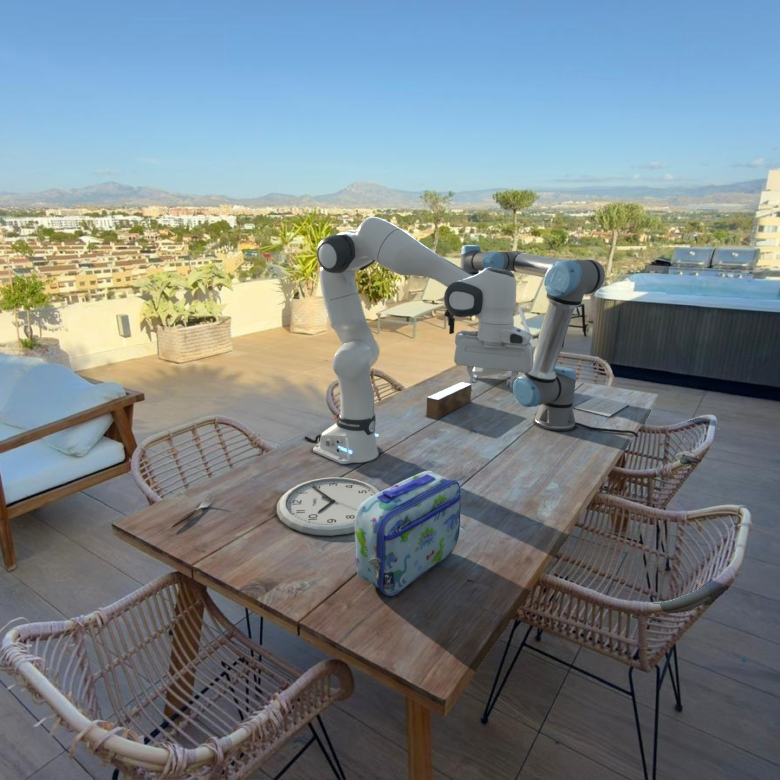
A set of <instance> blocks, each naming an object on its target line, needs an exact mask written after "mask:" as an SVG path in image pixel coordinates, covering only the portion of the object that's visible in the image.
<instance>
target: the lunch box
mask: <svg viewBox="0 0 780 780" xmlns="http://www.w3.org/2000/svg"><path fill="white" fill-rule="evenodd" d="M380 491H381V492H379V493H377V494H375V495H373V496H371V497H369V498H367V499H366V500H364V501H363V502H362V504H361V505H360V506H359V508H358V510H357V513H356V516H355V532H354V543H355V545H354V546H355V548H354V551H355V552H354V553H355V570H356V573H357V577H359V578H360V579H361V580H362V581H363V580H364V581H365V582H367V583H369V584H371V585H373V586H374V587H375V588H377V589H379V591H380V592H381V593H382V594H384V595H386V596H387V597H394V596H396V595H398V594H399V593H400V592H402V591H403V590H404V589H405V588H407V587H408V586H409V585H410V584H412V583H413V582H414V581H416V580H417V579H418V578H421V576H423V575H424V574H425V573H427V572H428V571H429V570H430V569H431V568H432V567H434V566H435V565H437V564H438V563H440V562H442V561H443V560H445V559H446V558H448V557H449V556H450V555H451V554H452V552H453V551H454V550H455V548H456V545H457V544H458V540H459V537H460V529H461V485H460V483H459V482H458V481H457V480H456V479H449V478H446V477H444V476H442V475H440V474H439V473H437V472H434V471H432V470H425V471H422V472H419V473H417V474H415V475H413V476H410V477H408V478H406V479H403V480H401V481H400V482H398V483H395V484H393V485H392V486H389V487H387V488H385V489H384V490H380Z"/></svg>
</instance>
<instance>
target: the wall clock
mask: <svg viewBox="0 0 780 780" xmlns="http://www.w3.org/2000/svg"><path fill="white" fill-rule="evenodd" d="M381 491H382V490H380V489H379V488H377V487H376V486H374V485H372V484H371V483H369V482H365V481H362V480H359V479H355V478H349V477H338V476H337V477H335V476H333V477H332V476H331V477H322V478H317V479H312V480H307V481H305V482H302V483H299V484H297V485H295V486H293V487H292V488H290V489H288V490H287V491H286V492H285V493H284V494H283V495H281V496H280V498H279V499H278V502H277V503H276V515H277V517H278V518H279V520H280V521H281V522H282V523H283V524H285V525H286V526H287V527H288V528H290V529H293V530H295V531H297V532H299V533H303V534H308V535H312V536H327V537H328V536H329V537H331V536H332V537H333V536H342V535H350V534H352V533H355V516H356V513H357V510H358V508H359V506H360V505H361V504H362V502H363V501H364V500H366V499H367V498H369V497H371V496H373V495H375V494H377V493H379V492H381Z"/></svg>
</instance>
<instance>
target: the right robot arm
mask: <svg viewBox="0 0 780 780" xmlns="http://www.w3.org/2000/svg"><path fill="white" fill-rule="evenodd" d="M460 252H461V253H460V266H459V267H460V268H462V269H463V270H465V271H467V272H469V273H471V274H473V275H476V274H478V273H480V272H482V271H483V270H484V269H485V268H488V267H496V268H502V269H506V270H509V271H510V272H513V273H520V274H524V275H529V276H530V275H531V276H535V277H540V278H543V285H544V290H545V291H546V295H545V297H546V299H547V301H548V304H547V308H546V311H545V313H544V318H543V320H542V324H541V327H540V331H539V334H538V338H537V339H538V341H537V344H536V347H535V351H534V354H533V369H532V370H531V371H530V372H529V373H524V372H522V375H520V376H517V377H516V378H515V379H514V380H513V386H512V393H513V395H514V398H515V399H516V401H517V402H518V404H520V405H521V406H523V407H526V408H532V407H534V408H536V407H538V406H539V407H538V410H537V411H536V413H535V414H534V424H535V425H536V426H537V427H539V428H542V429H544V430H549V431H556V432H567V431H572V430H574V429H575V428H576V426H579V427H583V428H585V429H589V430H594V431H601V432H609V433H610V432H611V433H620V434H627V433H628V434H632V435H633V436H634V437H636V438H639V437H640V435H638V434H637V432H635V431H634V430H629V429H628V430H625V429H615V428H614V429H613V428H602V427H594V426H590V425H586V424H584V423H580V422H577V421H576V418H575V417H576V416H575V413H574V407H573V405H574V398H575V390H576V383H577V372H576V371H575V369H572V368H571V367H570V368H569V367H566V366H561V365H557V363H558V360H559V357H560V355H561V351H562V347H563V344H564V341H565V338H566V335H567V332H568V330H569V326H570V323H571V322H572V321H571V320H572V318H573V315H574V312H575V309H576V308H578V307H579V306H581V305H582V302H583V299H584V297H585V295H590V294H593V293H595V292H597V291H599V290H600V289H601V288H602V286H603V285H604V283H605V280H606V271H605V268H604V266H603V265H602V264H601V262H599V261H597V260H594V259H579V258H577V259H562V258H561V259H560V258H555V257H548V256H543V255H536V254H531V253H525V252H522V251H518V250H511V251H485V250H484V251H481V246H480V245H472V244H471V245H469V244H467V245H463V246H462V247H461V251H460ZM444 317H446V318H447V326H448V327H449V330H448V331H449V332H448V335H453V334H454V333H455V321H456V320H455V316H453V315H452V314H450V313H449V312H448V310H447V309H446V310H445V312H444Z"/></svg>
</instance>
